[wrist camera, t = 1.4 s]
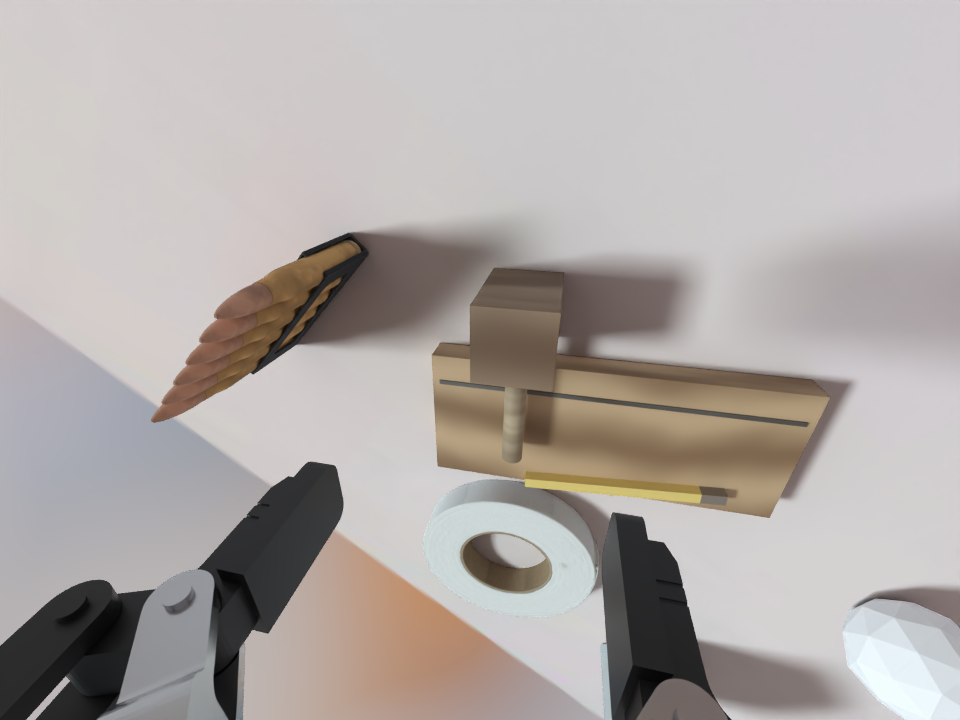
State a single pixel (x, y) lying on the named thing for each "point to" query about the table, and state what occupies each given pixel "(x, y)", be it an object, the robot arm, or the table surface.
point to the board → (635, 425)
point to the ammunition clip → (262, 322)
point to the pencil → (627, 488)
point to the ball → (906, 658)
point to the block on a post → (516, 342)
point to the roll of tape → (521, 516)
